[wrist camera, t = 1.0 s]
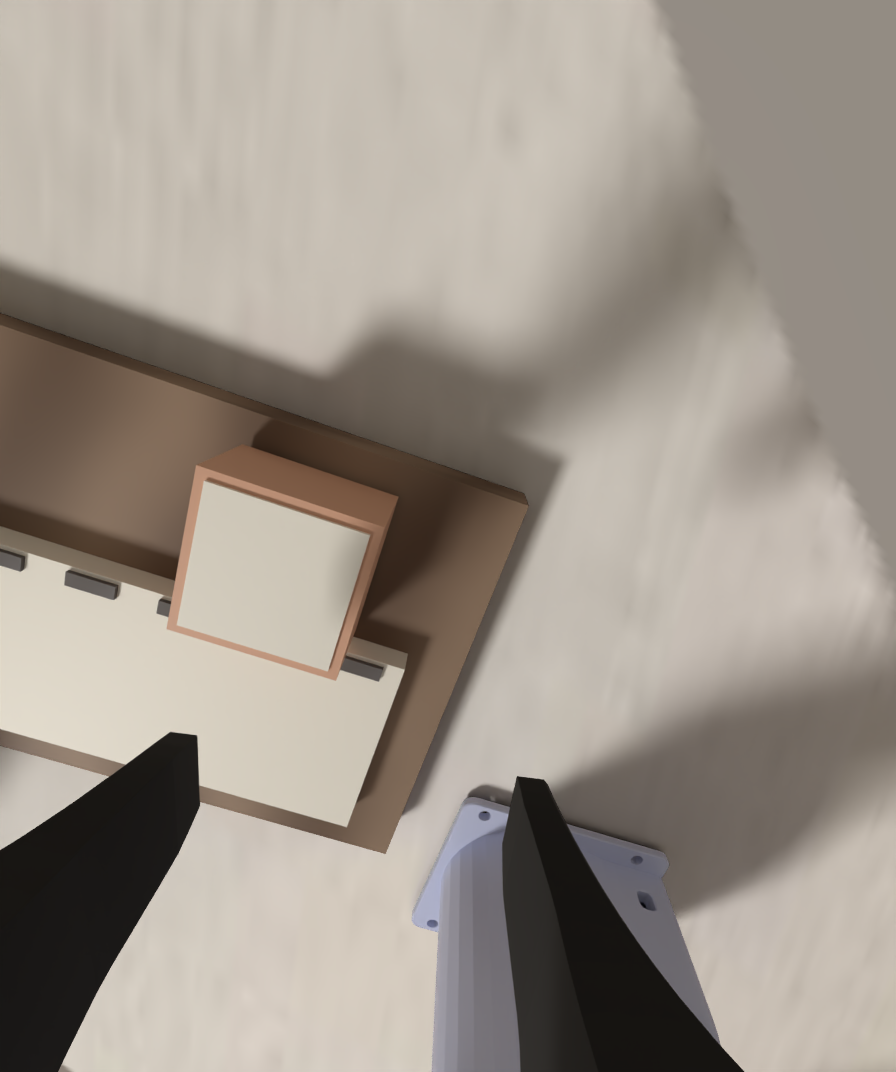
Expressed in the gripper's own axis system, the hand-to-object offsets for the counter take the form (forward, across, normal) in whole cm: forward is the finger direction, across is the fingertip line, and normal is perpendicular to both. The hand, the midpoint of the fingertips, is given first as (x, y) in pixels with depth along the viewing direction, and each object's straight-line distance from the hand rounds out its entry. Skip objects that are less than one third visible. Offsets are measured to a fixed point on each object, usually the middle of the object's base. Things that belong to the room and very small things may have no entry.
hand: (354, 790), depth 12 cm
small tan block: (+7, +3, -3) cm, 8 cm away
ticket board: (+9, +7, +1) cm, 11 cm away
